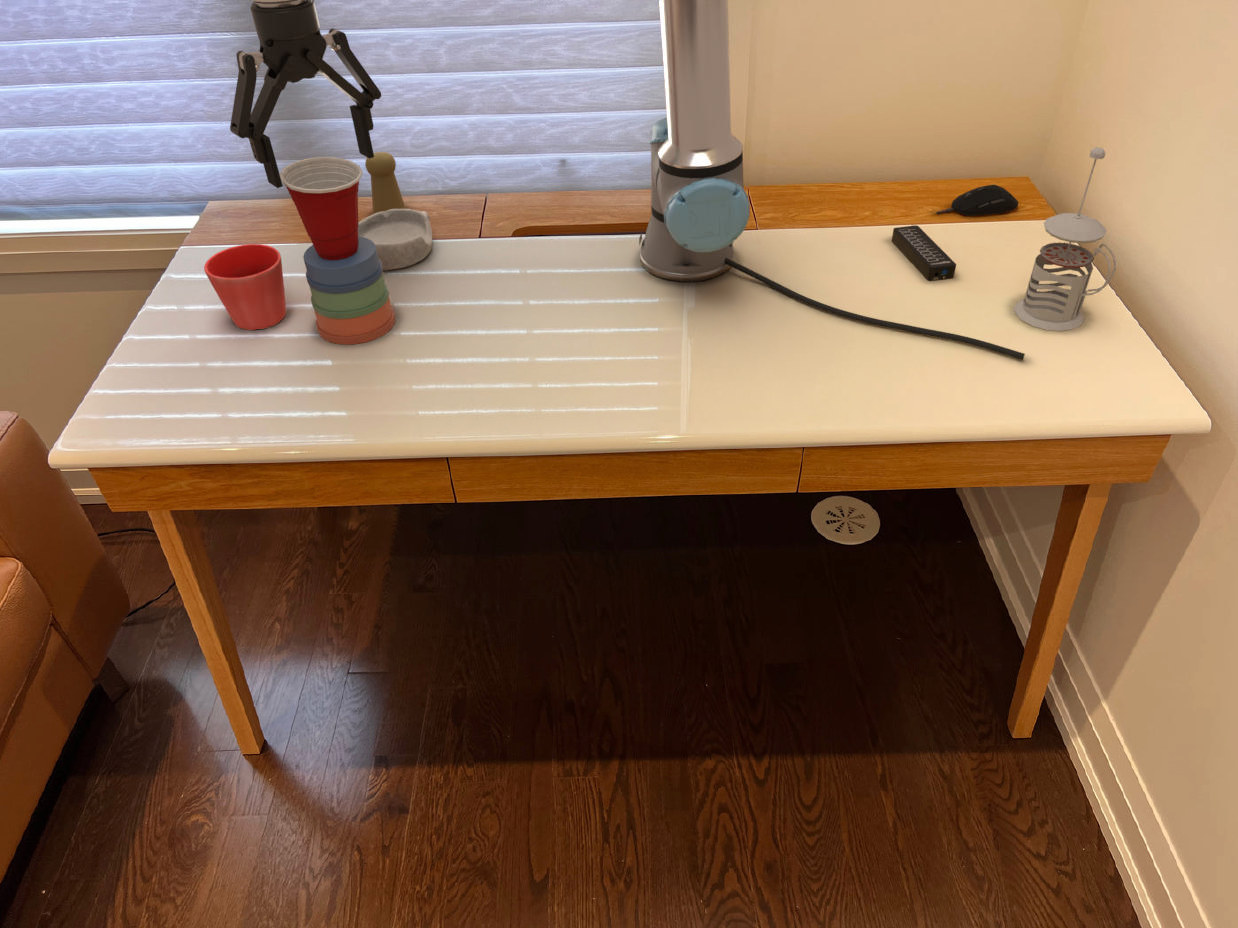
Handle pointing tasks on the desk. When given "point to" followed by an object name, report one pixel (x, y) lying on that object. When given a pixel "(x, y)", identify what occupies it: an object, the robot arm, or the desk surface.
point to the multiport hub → (923, 253)
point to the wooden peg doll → (384, 183)
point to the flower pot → (249, 284)
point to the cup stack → (349, 295)
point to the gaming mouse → (983, 201)
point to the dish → (398, 236)
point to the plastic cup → (326, 203)
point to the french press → (1064, 304)
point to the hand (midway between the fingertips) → (322, 169)
